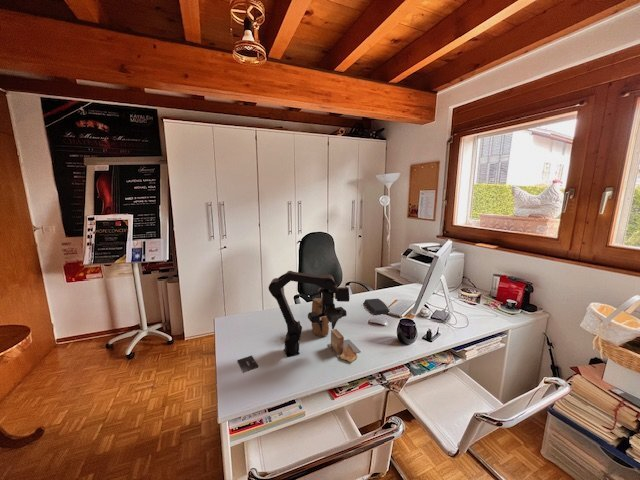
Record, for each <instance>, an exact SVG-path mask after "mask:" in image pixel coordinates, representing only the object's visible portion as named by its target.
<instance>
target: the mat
mask: <svg viewBox="0 0 640 480" xmlns="http://www.w3.org/2000/svg"><path fill="white" fill-rule="evenodd" d="M348 344H349V346H350V347H351V348H352V349H353V351H354V352H355V353H356V354H358V353H361V350H360V349H359V347H358V346H356V345H355V344H354V343H353V342H352V341H351V339H349V338H348V339H344V345H343V350H344V349H345V348H346V346H347V345H348ZM327 346H328V348H329V349H330V350H331V351H332V352H333V354H334V355H335V356H336V358H338V359H341V357H340V356H341V354H337V353H336V352H335V350H334V349H333V348H332V347H331V343H328V344H327Z"/></svg>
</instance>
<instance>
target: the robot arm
mask: <svg viewBox="0 0 640 480" xmlns="http://www.w3.org/2000/svg"><path fill="white" fill-rule="evenodd" d="M290 282H295V283H296V282H297V283H301V284H309V285H314V286H318V287H319V288H318V290H317V293H318V294H321V298H322V301H321V304H322V309H321V312H322V313H320V314H317V313H316V312H312V311H310V312H308V313H307V319H308V320H309V321H310V322H311V324H312V323H315V322H316V323H317V324H318V326H319V329H320V331H321V332H322V322H323V321H322V320H321V318H322V317H326V316H327V318H328V320H329V323H331V329H332V330H334V329H335V326H336V325H337V322H338V321H339V320H340V319H342V318H344V317H347V315H348V313H347V310H346V309H345V308H343V306H338V307H336V304H335V303H334V302H335V301H334V299H335V300H336V301H337V302H341V303H342V302H350V287H348V286H347V287H346V286H344V287H338V285H337V283H336V282H335V278H334V276H333V275H331V274H330V273H328V274H327V273H326V274H324V273H323V274H321V273H320V274H311V273H306V272H305V273H303V272H298V271H293V270H287V272H285V273H284V274H282V275H280V276H278V277H275V278H273V279H272V280H271V281H270V283H269V285H268V287H267V288H268V291H269V292H270V294H271V297H273V298H274V299H275V300H276V303H277V304H278V307H279V309H280V311H281V314H282V316H283V319H284V321H285V323H286V327H287V328H286V329H287V332H286V335H285V339H284V349H283V352H284V354H285V355H286V357H287V358H290V357H293V356H297V355H300V342H299V341H300V340H301V337H302V332H303V326H302V325H301V322H300V320H298V321H297V320H296V319H295V317H294V315H293V312H292V310H291V307H290V305H289V303H288V300H287V298H286V295H285V286H286V285H287V284H288V283H290Z"/></svg>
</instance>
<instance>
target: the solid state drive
mask: <svg viewBox="0 0 640 480" xmlns="http://www.w3.org/2000/svg"><path fill="white" fill-rule="evenodd" d="M237 363H238V364H239V367H240V369H241V371H242V373H247V372H249V371H252V370H256V369H258V368H259V366H258V363H257V362H256V361H255V358H254V357H253V355H248V356H246V357H243V358H240V359H237Z"/></svg>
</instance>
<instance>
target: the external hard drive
mask: <svg viewBox="0 0 640 480" xmlns="http://www.w3.org/2000/svg"><path fill="white" fill-rule="evenodd" d="M363 304H364V306H365V307H366V309H367V310H368V311H369V312H370V313H371V314H372V315H373V316H380V315H381V314H383V315H387V314H386V313H388V312H390V308H389V307H388V306H387V304H386V303H385V302H384V301H382V300H381V299H380V298H367V299H365V300H364V302H363ZM390 313H391V312H390Z"/></svg>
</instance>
